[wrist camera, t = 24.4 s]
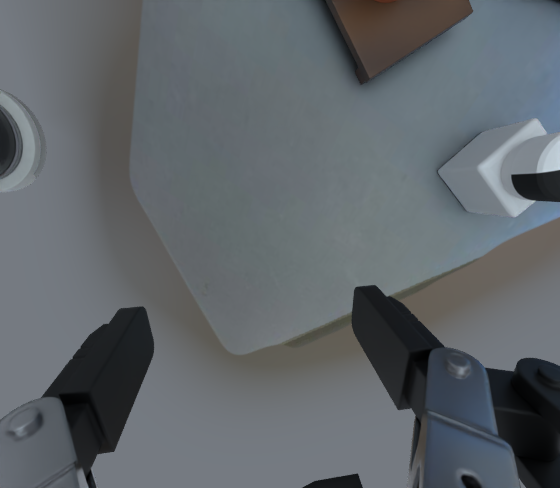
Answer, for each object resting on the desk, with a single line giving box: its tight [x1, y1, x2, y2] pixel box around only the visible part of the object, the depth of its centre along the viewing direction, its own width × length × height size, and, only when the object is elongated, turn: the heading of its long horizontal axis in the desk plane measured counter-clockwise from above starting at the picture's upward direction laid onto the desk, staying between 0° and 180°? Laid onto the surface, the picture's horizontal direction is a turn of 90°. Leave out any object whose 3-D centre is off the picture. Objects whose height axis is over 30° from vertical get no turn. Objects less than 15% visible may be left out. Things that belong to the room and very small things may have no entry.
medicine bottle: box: [438, 118, 560, 218], centre depth 28 cm, size 7×7×12 cm
